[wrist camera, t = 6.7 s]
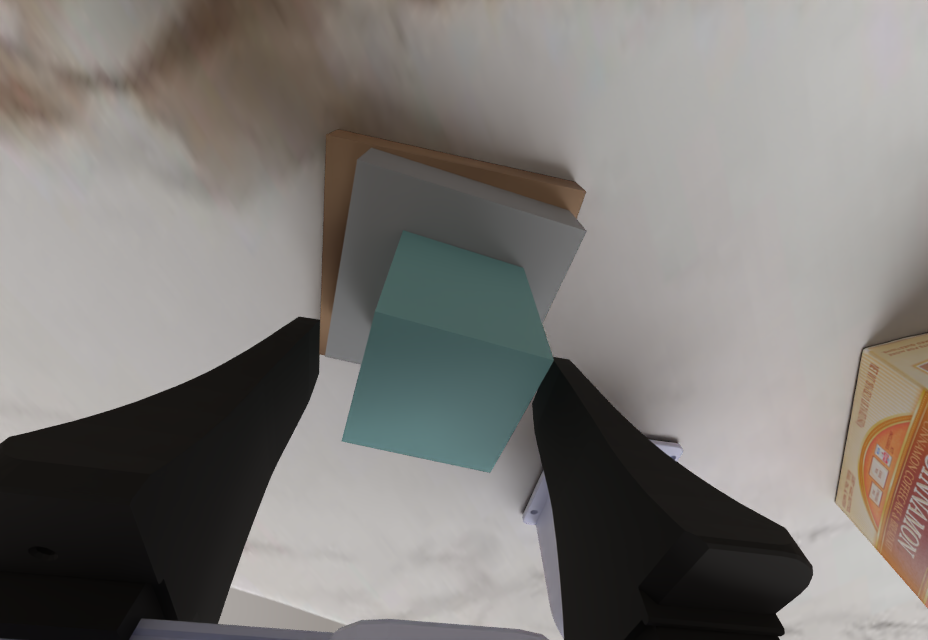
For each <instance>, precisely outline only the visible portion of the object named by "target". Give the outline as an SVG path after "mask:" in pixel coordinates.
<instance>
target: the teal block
mask: <svg viewBox="0 0 928 640" xmlns="http://www.w3.org/2000/svg"><path fill="white" fill-rule="evenodd" d="M553 361H554V359H553V356H552V353H551V350H550V347H549V344H548V341H547V338H546V335H545V331H544V328H543V325H542V322H541V319H540V316H539V313H538V310H537V307H536V304H535V301H534V298H533V295H532V292H531V289H530V286H529V283H528V280H527V277H526V274H525V271H524V268H522V267H519V266H516V265H513V264H509V263H506V262H503V261H500V260H497V259H494V258H490V257H487V256H484V255H481V254H478V253H474V252H471V251H468V250H465V249H462V248H458V247H455V246H452V245H449V244H446V243H442V242H439V241H436V240H433V239H430V238H426V237H423V236H420V235H417V234H414V233H411V232H407V231H404V230H403V232H402V235H401V238H400V241H399V243H398V246H397V249H396V252H395V255H394V258H393V261H392V264H391V267H390V269H389V272H388V275H387V278H386V281H385V284H384V287H383V290H382V293H381V296H380V298H379V301H378V304H377V307H376V310H375V313H374V317H373V321H372V325H371V329H370V333H369V337H368V341H367V345H366V348H365V352H364V356H363V360H362V364H361V368H360V372H359V376H358V380H357V383H356V387H355V391H354V395H353V399H352V403H351V407H350V411H349V415H348V418H347V422H346V426H345V430H344V434H343V438H342V441H343V442H347V443H352V444H357V445H362V446H366V447H371V448H376V449H380V450H385V451H390V452H394V453H399V454H404V455H409V456H413V457H418V458H423V459H427V460H432V461H437V462H441V463H446V464H451V465H456V466H460V467H465V468H470V469H474V470H479V471H484V472H489V473H490V472H491V471H492V469H493V467H494V465H495V464H496V462H497V460H498V458H499V456H500V455H501V453H502V451H503V449H504V448H505V446H506V444H507V442H508V441H509V439H510V437H511V435H512V433H513V432H514V430H515V428H516V426H517V425H518V423H519V421H520V419H521V418H522V416H523V414H524V412H525V411H526V409H527V407H528V405H529V403H530V402H531V400H532V398H533V396H534V395H535V393H536V391H537V389H538V388H539V386H540V384H541V382H542V380H543V379H544V377H545V375H546V373H547V372H548V370H549V368H550V366H551V365H552V363H553Z"/></svg>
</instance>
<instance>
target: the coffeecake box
mask: <svg viewBox="0 0 928 640" xmlns="http://www.w3.org/2000/svg"><path fill="white" fill-rule="evenodd" d="M835 503H836V505H838V506H839V507H840V509H841V510H842V511H843V512H844V513H845V514H846V515H847V516H848V518H849V519H850V520H851V521H852V522H853V523H854V524H855V526H856V527H857V528H858V529H859V530H860V531H861V533H862V534H863V535H864V536H865V537H866V538H867V539H868V540H869V542H870V543H871V544H872V545H873V546H874V547H875V548H876V550H877V551H878V552H879V553H880V554H881V555H882V556H883V557H884V559H885V560H886V561H887V562H888V563H889V564H890V565H891V567H892V568H893V569H894V570H895V571H896V572H897V574H898V575H899V576H900V577H901V578H902V579H903V580H904V582H905V583H906V584H907V585H908V586H909V587H910V588H911V590H912V591H913V592H914V593H915V594H916V595H917V596H918V598H919V599H920V600H921V601H922V602H923V603H924V604H925V606H926V607H927V608H928V333H926V334H921V335H917V336H912V337H907V338H902V339H898V340H895V341H891V342H888V343H884V344H880V345H876V346H872V347H868V348H865V349H864V350H863V353H862V358H861V363H860V369H859V374H858V380H857V386H856V391H855V396H854V402H853V408H852V414H851V420H850V425H849V431H848V436H847V442H846V447H845V453H844V459H843V464H842V469H841V475H840V480H839V486H838V492H837V497H836V502H835Z"/></svg>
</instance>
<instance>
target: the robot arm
mask: <svg viewBox="0 0 928 640" xmlns="http://www.w3.org/2000/svg"><path fill="white" fill-rule="evenodd" d="M319 351H320V320H318V319H311V318H305V317H298V318H296V319H295V320H293V321H292V322H290V323H289V324H287V325H286V326H284V327H282V328H281V329H279V330H278V331H276V332H275V333H273V334H272V335H270V336H269V337H267V338H266V339H264V340H263V341H261V342H260V343H258V344H256V345H255V346H253V347H252V348H250V349H248V350H247V351H245V352H243V353H241V354H240V355H238V356H236V357H234V358H233V359H231V360H229V361H227V362H226V363H224V364H222V365H220V366H218V367H216V368H215V369H213V370H211V371H209V372H207V373H205V374H203V375H200V376H198V377H196V378H194V379H192V380H189V381H187V382H185V383H183V384H180V385H178V386H176V387H173V388H171V389H168V390H165V391H163V392H160V393H158V394H155V395H152V396H150V397H147V398H145V399H142V400H140V401H137V402H134V403H131V404H128V405H125V406H122V407H119V408H116V409H113V410H110V411H106V412H103V413H100V414H97V415H93V416H90V417H87V418H83V419H79V420H76V421H72V422H68V423H64V424H60V425H56V426H52V427H48V428H44V429H40V430H37V431H33V432H29V433H25V434H20V435H16V436H11V437H8V438H7V439H6V440H5V441H3V442H2V443H1V444H0V640H549V639H547V638H546V637H545V636H544V635H542V634H538V633H533V632H529V631H524V630H520V629H509V628H496V627H484V626H471V625H459V624H446V623H434V622H421V621H409V620H396V619H378V620H361V621H358V622H355V623H352V624H349V625H347V626H344V627H341V628H339V629H338V630H337V631H336V632H334V633H331V632H317V631H303V630H290V629H277V628H262V627H250V626H237V625H223V624H218V621H219V619H220V616H221V613H222V609H223V607H224V603H225V601H226V598H227V595H228V591H229V589H230V586H231V583H232V580H233V577H234V574H235V571H236V569H237V566H238V563H239V560H240V557H241V554H242V552H243V549H244V546H245V543H246V540H247V538H248V535H249V532H250V530H251V527H252V524H253V522H254V519H255V516H256V514H257V511H258V508H259V506H260V503H261V501H262V498H263V496H264V493H265V490H266V488H267V485H268V483H269V480H270V478H271V476H272V473H273V471H274V469H275V467H276V465H277V463H278V461H279V459H280V457H281V455H282V453H283V451H284V449H285V447H286V445H287V443H288V442H289V440H290V438H291V436H292V434H293V432H294V430H295V428H296V426H297V424H298V422H299V420H300V418H301V416H302V414H303V412H304V410H305V408H306V406H307V404H308V402H309V400H310V397H311V395H312V392H313V389H314V386H315V383H316V380H317V378H318V375H319ZM553 359H554V361H553V363H552V365H551V366H550V368H549V370H548V372H547V373H546V375H545V377H544V379H543V380H542V382H541V384H540V386H539V388H538V390H537V393H536V396H535V398H534V401H533V403H532V407H533V420H534V429H535V436H536V440H537V445H538V449H539V453H540V458H541V462H542V466H543V472H542V474H541V476H540V479H539V481H538V483H537V485H536V487H535V489H534V492H533V494H532V496H531V498H530V500H529V503H528V505H527V507H526V509H525V511H524V514H523V522H524V523H526V524H530V525H536V527H537V533H538V539H539V545H540V550H541V556H542V562H543V568H544V574H545V580H546V585H547V591H548V597H549V603H550V608H551V612H552V616H553V619H554V622H555V624H556V626H557V628H558V630H559V632H560V634H561V635H562V637H563V638H564V640H780V639H779V638H778V636H782V635H784V634H785V631H784V627H783V626H782V624H781V622H780V621H779V619H778V617H777V615H776V613H777V612H778V611H779V610H781V609H782V608H783V607H784V606H786V605H787V604H788V603H789V602H791V601H792V600H793V599H794V598H796V597H797V596H798V595H799V594H801V593H802V592H803V591H804V590H805V589H806V588H807V587H808V585H809V583H810V581H811V579H812V576H813V568H812V565H811V564H810V562H809V561H808V559H807V558H806V556H805V555H804V554H803V552H802V551H801V549H800V548H799V547H798V545H797V544H796V542H795V541H794V539H793V538H792V537H791V535H790V534H789V532H788V531H787V530H786V529H785V528H784V527H782V526H780V525H779V524H777V523H775V522H773V521H771V520H770V519H768V518H766V517H764V516H762V515H760V514H759V513H757V512H755V511H753V510H751V509H749V508H748V507H746V506H744V505H742V504H740V503H739V502H737V501H735V500H734V499H732V498H730V497H729V496H727V495H726V494H724V493H722V492H721V491H719V490H718V489H716V488H714V487H713V486H711V485H710V484H708V483H707V482H705V481H704V480H702V479H701V478H699V477H698V476H696V475H695V474H693V473H692V472H690V471H689V470H688V469H686V468H685V467H684V466H682V465H681V464H679V463H678V462H677V461H678V459H679V458H680V456H681V455H682V453H683V448H682V447H681V445H680V444H677V443H671V442H664V441H657V440H650V439H648V438H646V437H645V436H644V435H643V434H642V433H641V432H640V431H638V430H637V429H636V428H635V427H634V426H633V425H632V424H631V423H630V422H629V421H628V420H627V419H626V418H625V417H623V416H622V415H621V414H620V413H619V412H618V411H617V410H616V409H615V408H614V407H613V406H612V405H611V404H610V403H609V402H608V400H607V399H606V398H605V397H604V396H603V395H602V394H601V393H600V392H599V391H598V390H597V389H596V388H595V387H594V386H593V384H592V383H591V382H590V381H589V380H588V379H587V378H586V377H585V376H584V375H583V374H582V372H581V371H580V370H579V369H578V368H577V367H576V366H575V365H574V364H573V363H572V362H571V361H570V360H569V359H562V358H556V357H553Z"/></svg>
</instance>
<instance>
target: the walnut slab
mask: <svg viewBox="0 0 928 640" xmlns="http://www.w3.org/2000/svg"><path fill="white" fill-rule="evenodd" d="M370 148H375V149H378V150H381V151H384V152H387V153H390V154H393V155H397V156H400V157H403V158H406V159H409V160H412V161H415V162H419V163H422V164H425V165H428V166H431V167H434V168H437V169H441V170H444V171H447V172H450V173H453V174H456V175H459V176H463V177H466V178H469V179H472V180H475V181H478V182H481V183H484V184H488V185H491V186H494V187H497V188H500V189H503V190H506V191H510V192H513V193H516V194H519V195H522V196H525V197H528V198H532V199H535V200H538V201H541V202H544V203H547V204H550V205H554V206H557V207H560V208H563V209H566V210H569V211H570V212H571V213H572V214H573V215H574V217H575V218H576V219H577V216H578V213H579V210H580V207H581V205H582V202H583V199H584V196H585V194H586V191H585V190H584V189H583V188H582V187H581V186H579V185H578V184H577V183H576V182H574V181H569V180H565V179H560V178H556V177H551V176H547V175H542V174H537V173H533V172H528V171H524V170H519V169H515V168H510V167H506V166H501V165H497V164H492V163H488V162H483V161H479V160H474V159H470V158H465V157H461V156H456V155H452V154H447V153H443V152H438V151H434V150H429V149H425V148H420V147H415V146H411V145H406V144H402V143H397V142H393V141H388V140H384V139H379V138H375V137H370V136H366V135H361V134H357V133H352V132H348V131H343V130H339V129H338V130H335V131H333V132H331V133H329V134H327V135H326V157H325V189H324V221H323V252H322V284H321V315H320V351H319V354H321V355H325V352H326V346H327V340H328V334H329V328H330V322H331V316H332V310H333V304H334V298H335V292H336V286H337V280H338V274H339V267H340V261H341V255H342V249H343V243H344V237H345V231H346V225H347V219H348V213H349V207H350V201H351V195H352V189H353V183H354V176H355V170H356V164H357V159H359V158H360V157H361V156H362V155H363V154H364V153H366V152H367V151H368V150H369V149H370Z"/></svg>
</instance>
